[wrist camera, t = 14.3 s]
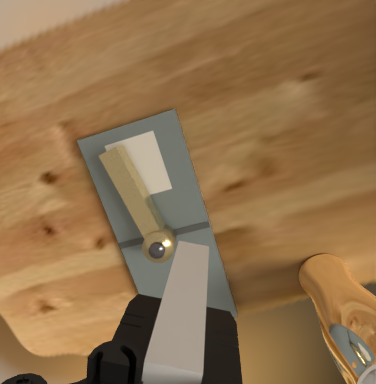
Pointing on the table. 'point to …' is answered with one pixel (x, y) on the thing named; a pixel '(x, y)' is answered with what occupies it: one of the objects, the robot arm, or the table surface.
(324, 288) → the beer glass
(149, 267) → the door board
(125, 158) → the latch bar
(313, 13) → the table surface
